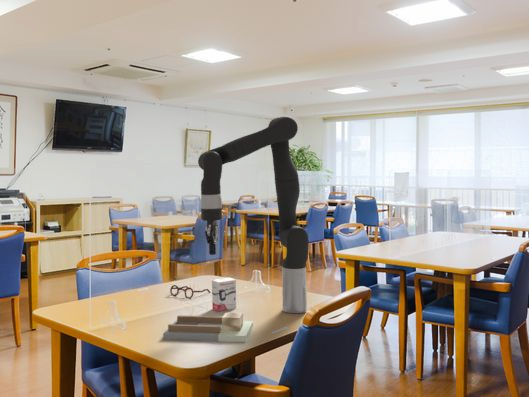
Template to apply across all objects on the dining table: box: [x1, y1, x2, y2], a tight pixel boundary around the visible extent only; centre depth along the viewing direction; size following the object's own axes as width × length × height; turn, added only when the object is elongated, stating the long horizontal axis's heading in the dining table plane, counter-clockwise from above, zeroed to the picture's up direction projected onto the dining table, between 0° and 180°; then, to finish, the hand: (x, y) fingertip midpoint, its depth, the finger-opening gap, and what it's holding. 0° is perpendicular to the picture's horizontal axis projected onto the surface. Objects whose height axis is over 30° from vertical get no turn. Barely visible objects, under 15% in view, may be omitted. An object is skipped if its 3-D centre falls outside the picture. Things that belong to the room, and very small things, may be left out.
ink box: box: [211, 277, 237, 312], centre depth 205 cm, size 8×5×12 cm, turn 123°
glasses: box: [170, 284, 212, 299], centre depth 229 cm, size 13×13×5 cm
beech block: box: [221, 312, 244, 331], centre depth 173 cm, size 6×6×4 cm
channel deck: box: [162, 314, 254, 343], centre depth 175 cm, size 28×16×4 cm, turn 83°
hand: (212, 254), depth 187 cm, fingers closed
